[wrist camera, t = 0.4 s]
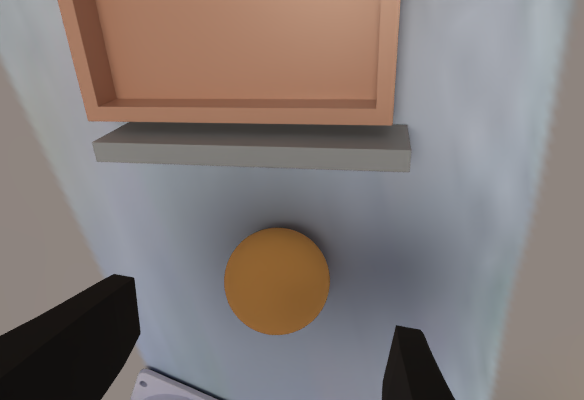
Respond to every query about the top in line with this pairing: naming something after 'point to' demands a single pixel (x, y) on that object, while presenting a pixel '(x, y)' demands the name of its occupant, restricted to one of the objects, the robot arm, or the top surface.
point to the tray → (235, 60)
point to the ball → (277, 281)
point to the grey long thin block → (259, 145)
